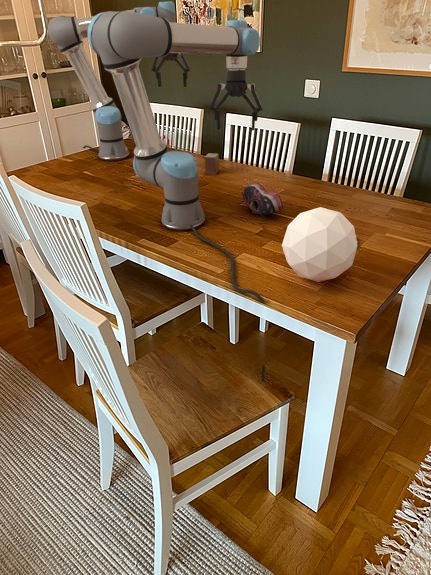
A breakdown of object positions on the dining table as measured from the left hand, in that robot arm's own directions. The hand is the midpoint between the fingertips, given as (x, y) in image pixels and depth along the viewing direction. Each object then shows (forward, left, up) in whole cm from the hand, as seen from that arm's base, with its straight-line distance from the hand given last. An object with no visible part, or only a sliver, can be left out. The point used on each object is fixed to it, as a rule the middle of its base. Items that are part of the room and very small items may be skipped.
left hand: (172, 86), depth 227 cm
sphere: (+113, -97, -30) cm, 152 cm away
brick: (+42, -32, -30) cm, 60 cm away
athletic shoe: (+79, -63, -30) cm, 106 cm away
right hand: (+60, -43, -7) cm, 74 cm away
